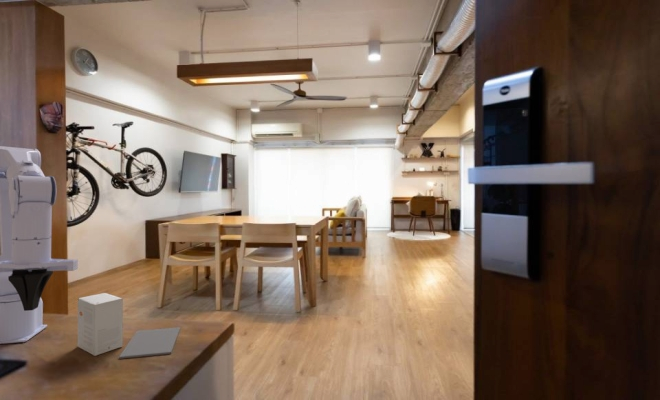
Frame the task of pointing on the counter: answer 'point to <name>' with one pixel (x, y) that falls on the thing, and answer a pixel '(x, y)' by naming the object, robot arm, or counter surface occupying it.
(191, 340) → the counter surface
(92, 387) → the counter surface
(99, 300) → the small box
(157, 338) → the gray mat
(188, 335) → the counter surface
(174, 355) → the counter surface
